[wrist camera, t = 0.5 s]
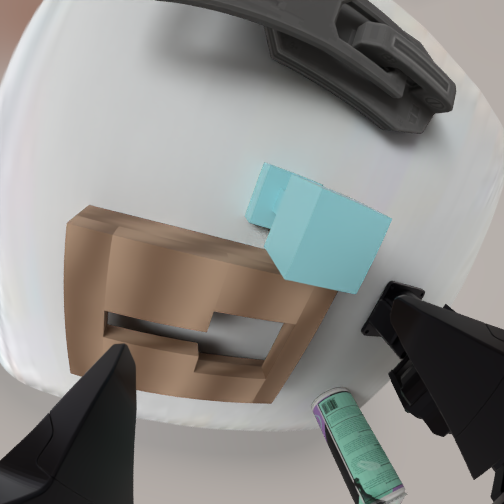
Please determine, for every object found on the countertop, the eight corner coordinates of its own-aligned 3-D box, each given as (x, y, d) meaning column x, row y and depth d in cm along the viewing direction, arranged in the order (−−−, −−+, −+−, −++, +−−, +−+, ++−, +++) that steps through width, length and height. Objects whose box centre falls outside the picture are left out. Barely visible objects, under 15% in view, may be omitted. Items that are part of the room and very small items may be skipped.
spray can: (304, 412, 32) (358, 537, 14) (324, 387, 30) (394, 522, 12) (335, 410, 34) (391, 521, 16) (356, 386, 32) (425, 502, 14)
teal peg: (314, 181, 19) (392, 218, 11) (294, 230, 21) (356, 294, 13) (264, 162, 18) (322, 188, 10) (244, 216, 19) (284, 279, 11)
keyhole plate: (317, 262, 22) (339, 287, 19) (261, 373, 26) (271, 403, 23) (88, 205, 17) (66, 223, 13) (81, 342, 21) (70, 373, 17)
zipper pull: (152, -99, 3) (482, 63, 11) (158, -51, 9) (428, 66, 17) (72, 0, 6) (465, 159, 14) (106, 36, 12) (407, 146, 20)
